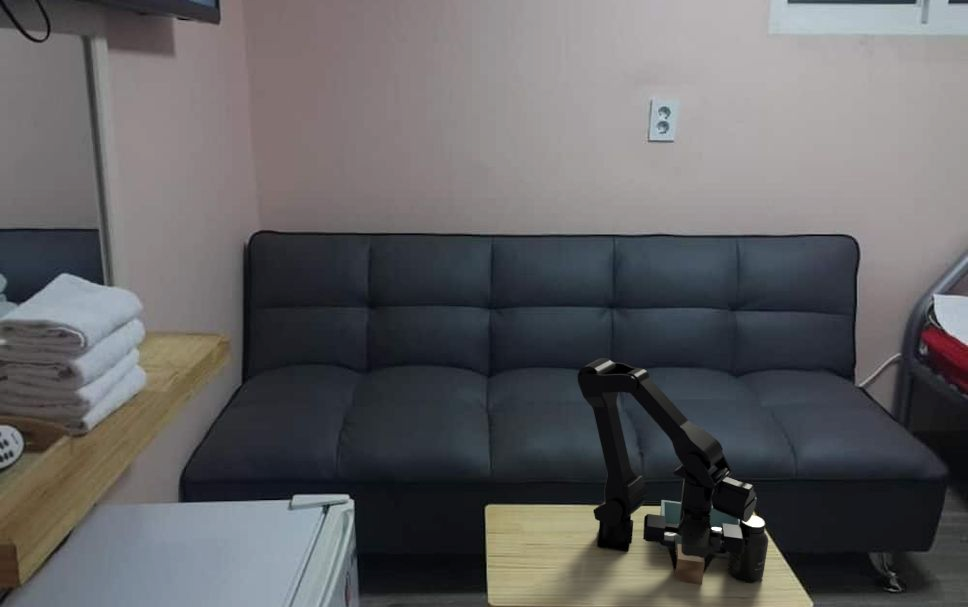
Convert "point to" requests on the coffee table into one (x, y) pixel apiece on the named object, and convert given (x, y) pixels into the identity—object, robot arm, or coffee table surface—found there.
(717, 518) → the tote
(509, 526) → the coffee table surface
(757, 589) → the coffee table surface
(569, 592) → the coffee table surface
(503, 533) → the coffee table surface
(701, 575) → the walnut cube
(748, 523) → the supplement bottle
